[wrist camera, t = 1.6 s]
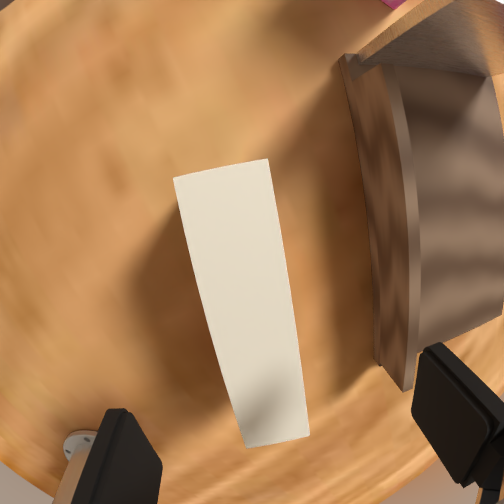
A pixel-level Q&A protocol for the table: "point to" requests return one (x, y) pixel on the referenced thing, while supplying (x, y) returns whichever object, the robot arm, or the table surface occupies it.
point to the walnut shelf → (428, 204)
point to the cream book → (246, 296)
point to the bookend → (444, 38)
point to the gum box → (393, 3)
